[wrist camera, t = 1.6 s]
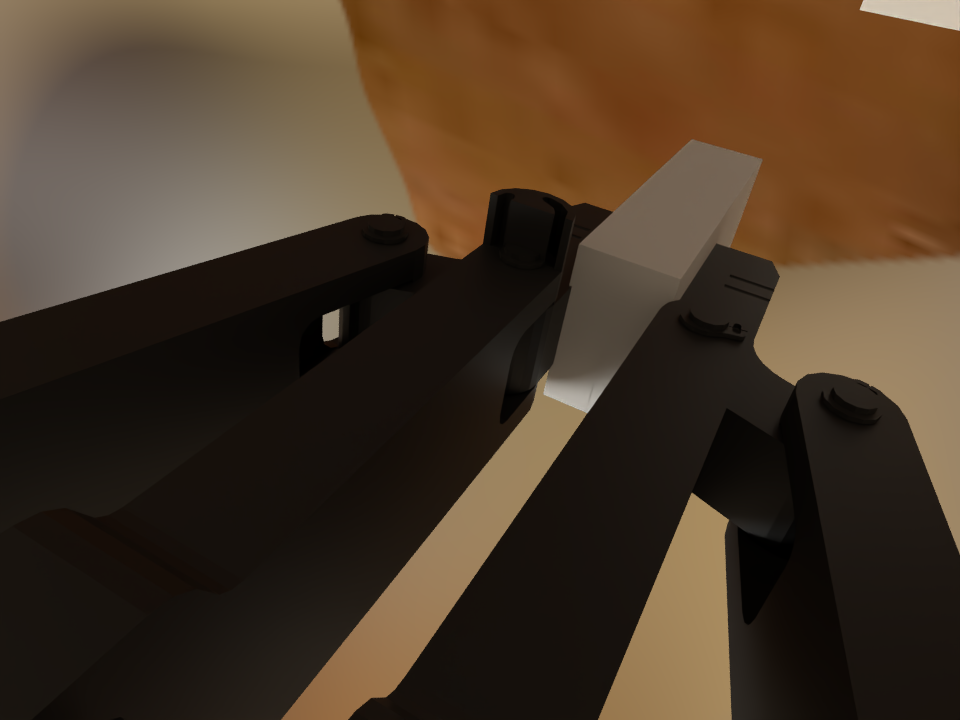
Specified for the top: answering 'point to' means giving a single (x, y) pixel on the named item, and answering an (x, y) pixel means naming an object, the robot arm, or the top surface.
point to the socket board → (918, 11)
